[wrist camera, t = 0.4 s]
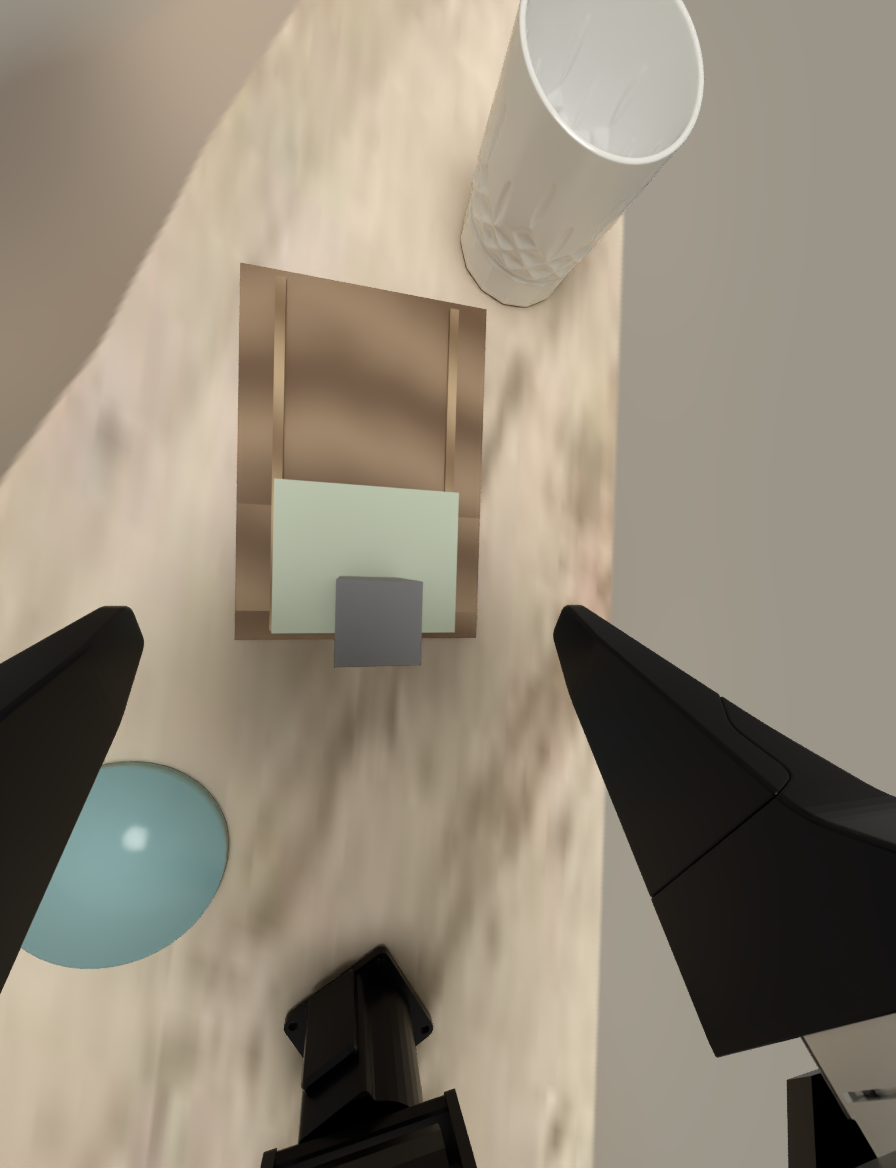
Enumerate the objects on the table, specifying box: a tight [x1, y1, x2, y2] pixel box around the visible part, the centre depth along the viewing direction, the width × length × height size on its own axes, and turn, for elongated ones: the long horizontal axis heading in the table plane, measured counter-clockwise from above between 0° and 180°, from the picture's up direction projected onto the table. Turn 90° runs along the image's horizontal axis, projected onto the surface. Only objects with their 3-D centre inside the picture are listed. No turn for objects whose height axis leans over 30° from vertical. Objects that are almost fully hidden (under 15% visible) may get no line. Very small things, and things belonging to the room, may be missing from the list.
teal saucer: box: [21, 762, 229, 969], centre depth 21 cm, size 10×10×1 cm
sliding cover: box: [271, 478, 459, 667], centre depth 17 cm, size 6×8×11 cm
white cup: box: [461, 0, 704, 307], centre depth 20 cm, size 8×8×10 cm
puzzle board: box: [235, 263, 486, 640], centre depth 23 cm, size 19×13×1 cm
